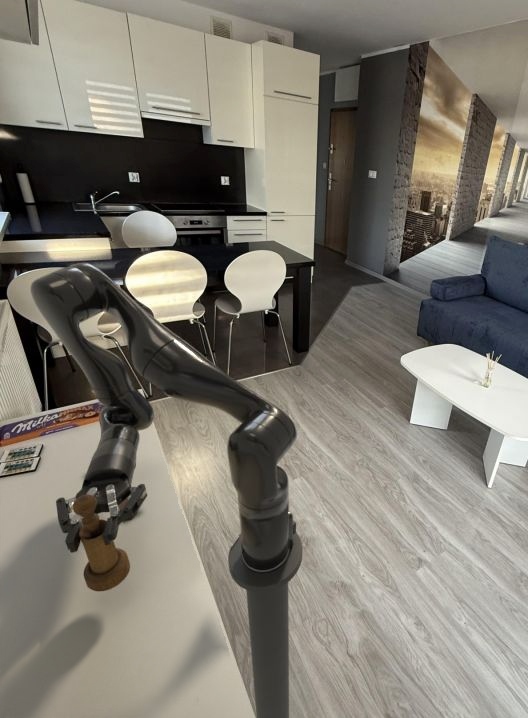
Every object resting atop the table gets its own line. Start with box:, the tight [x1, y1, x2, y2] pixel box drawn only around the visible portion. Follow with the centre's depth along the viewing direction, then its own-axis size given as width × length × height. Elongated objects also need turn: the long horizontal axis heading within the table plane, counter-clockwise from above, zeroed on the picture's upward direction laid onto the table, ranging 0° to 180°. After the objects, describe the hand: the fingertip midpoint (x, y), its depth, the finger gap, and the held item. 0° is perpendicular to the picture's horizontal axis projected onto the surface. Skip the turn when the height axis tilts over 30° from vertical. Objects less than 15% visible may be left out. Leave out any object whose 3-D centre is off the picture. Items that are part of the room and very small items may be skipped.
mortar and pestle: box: [72, 494, 131, 592], centre depth 64 cm, size 7×6×18 cm
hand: (90, 544), depth 61 cm, fingers closed on mortar and pestle, 4 cm apart
